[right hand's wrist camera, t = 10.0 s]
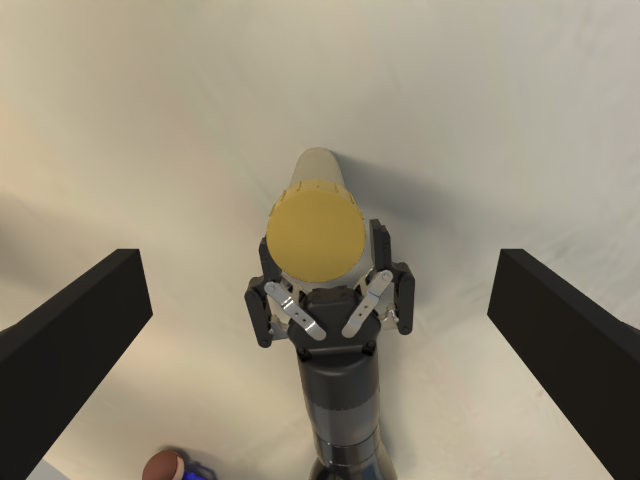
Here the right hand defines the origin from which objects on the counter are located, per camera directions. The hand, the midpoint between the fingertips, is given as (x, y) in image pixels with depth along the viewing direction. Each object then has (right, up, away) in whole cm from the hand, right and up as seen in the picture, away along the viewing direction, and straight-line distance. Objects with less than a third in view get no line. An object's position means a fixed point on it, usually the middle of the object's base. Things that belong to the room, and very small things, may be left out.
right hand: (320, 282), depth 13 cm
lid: (0, +2, +4) cm, 5 cm away
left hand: (0, +3, +16) cm, 16 cm away
